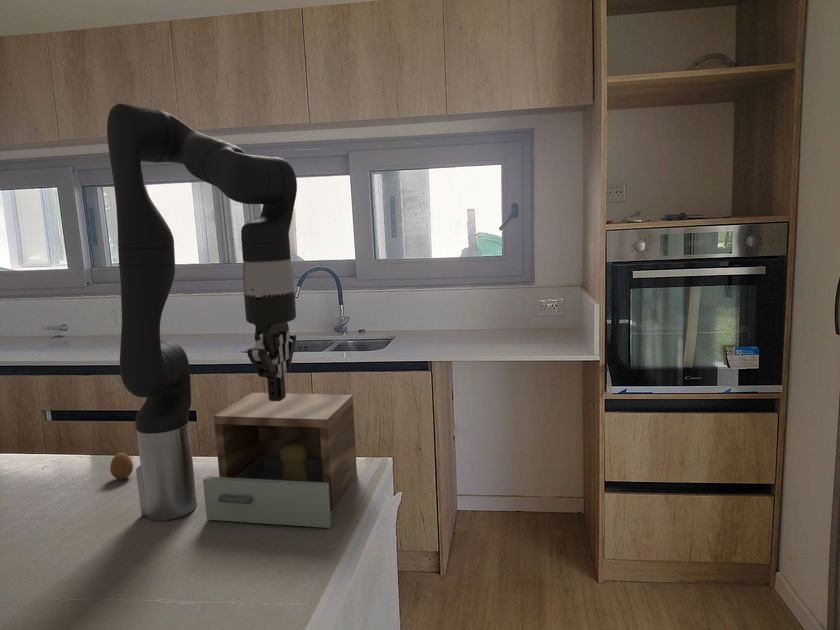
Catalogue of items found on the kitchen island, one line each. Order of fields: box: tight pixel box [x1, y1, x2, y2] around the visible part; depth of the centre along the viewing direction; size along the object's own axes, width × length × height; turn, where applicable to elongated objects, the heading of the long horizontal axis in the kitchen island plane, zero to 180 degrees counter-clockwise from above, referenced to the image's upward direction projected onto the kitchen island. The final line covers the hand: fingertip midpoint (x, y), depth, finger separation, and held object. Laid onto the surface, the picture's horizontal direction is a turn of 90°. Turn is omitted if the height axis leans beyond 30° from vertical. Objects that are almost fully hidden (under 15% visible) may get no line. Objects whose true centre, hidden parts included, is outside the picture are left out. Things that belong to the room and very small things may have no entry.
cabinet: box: [213, 392, 358, 511], centre depth 121 cm, size 23×16×18 cm
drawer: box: [202, 455, 332, 529], centre depth 116 cm, size 24×22×8 cm
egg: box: [109, 452, 134, 480], centre depth 129 cm, size 4×4×6 cm
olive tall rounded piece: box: [280, 443, 309, 482], centre depth 114 cm, size 6×6×11 cm
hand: (277, 399), depth 92 cm, fingers closed
